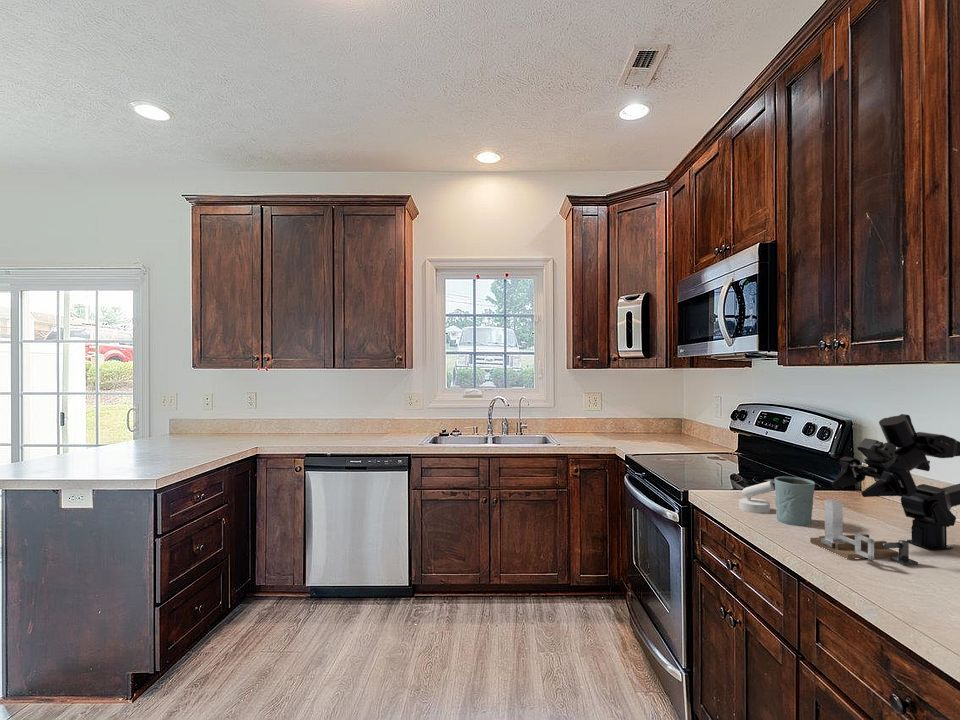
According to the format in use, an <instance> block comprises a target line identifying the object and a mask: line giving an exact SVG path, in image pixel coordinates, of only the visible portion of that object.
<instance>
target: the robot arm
mask: <svg viewBox="0 0 960 720" xmlns="http://www.w3.org/2000/svg"><path fill="white" fill-rule="evenodd" d="M878 421H879V422H878V424H879V426H880V429H881V432H882V433H883V436H884V438H885V440H886V442H883V441H879V440H877V439H872V438H867V437H865V438H863V440H862V441H861V442H860V443H859V444H858V445H857V446H856V450H858V451H860V453H861V454H862V455H863V456H864V457H865V458H864V463H865V464H866V465H862V464H861V461H860V460H859V459H858V458H854V457H851V456H850V457H849V456H846V455H845V456H843V457H840V458H839V459H838V460H837V462H838V464H839V466H840V471H839V473H838V474H837V476H836V478H834V480H833V481H832V483H831V486H832V488H834V489H837V488H844V487H849V486H855V485H858V484H859V483H861V482H863V481H865V479H866V477H869V478H873V480H874V483H872V484H871V485H869V486H868V487H866V488H865V489H864V490H863V491H862V492H861V496H862V497H863V498H872V497H873V498H874V497H875V498H876V497H900V504H901V507H902V508H903V512H904V514H905V517H907V518H911V519H912V525H911V539H907V540H906V541H908V542H909V544H912V545H915V546H917V547H920V548H923V549H925V550H929V551H942V550H943V551H945V550H953V549H954V547H953V546H951V545H948V544H947V543H948V542H947V536H948V535H947V533H948V531H947V528H950V527H953V526H955V523H956V519H957V517H956V516H955V514H953V513H952V511H951V510H952V508H954V507H956V506H960V483H957V484H953V485H949V486H944V487H937V486H933V485H928V484H925V483H922V484H918V485H916V483H915V479H914V478H913V476H912V473H911V471H913V470H914V469H916V470H920V471H924V472H929V471H930V469H931V465H930V463H931V461H930V460H928V458H927V457H933V458H938V459H949V458H950V459H952V458H955V457H960V441H959V440H956V439H955V438H954V437H951V436H948V435H944V434H938V433H931V432H923V431H917V432H916V430H915V427H914V425H913V422H912V417H910V414H904V413H901V414H899V415H894V416H889V417H884V418H882V419H880V420H878Z"/></svg>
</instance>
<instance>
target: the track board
mask: <svg viewBox="0 0 960 720" xmlns="http://www.w3.org/2000/svg"><path fill="white" fill-rule="evenodd" d="M860 535H862V536H865V537H868V538H870V535H869V534H868V533H860ZM843 536H846V537H848V538H851V539H853V540H855V534H843ZM821 538H825V535H819V536H818V537H810V540H809V541H810V542H812V543H811V544H813V543H814V544H813V545H815V544H816V545H815V546H817V545H818V546H817V547H819V546H820V548H821V547H823V548H822V549H824V548H825V549H824V550H826V549H827V550H826V551H828V550H829V551H828V552H830V551H831V553H832V552H833V554H834V553H836V554H835V555H837V554H838V555H837V556H839V555H840V556H839V557H841V556H842V557H841V558H843V557H844V559H845V558H847V559H846V560H848V559H851V560H856V559H855V558H865V557H863V556H861V555H859V554H856V553H855V545H853V544H851V543H849V542H846V541H845V543H835V547H831V546H828V545H826V544H824V543H822V542H821ZM843 541H844V540H843ZM883 543H888V541H886V540H874V559H888V558H889V557H899V551H897V550H894V549H893V548H884V547H883V546H882V544H883ZM861 551H863V552H866V553H868V542H865V541H863V540H861ZM889 559H890V558H889Z"/></svg>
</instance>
